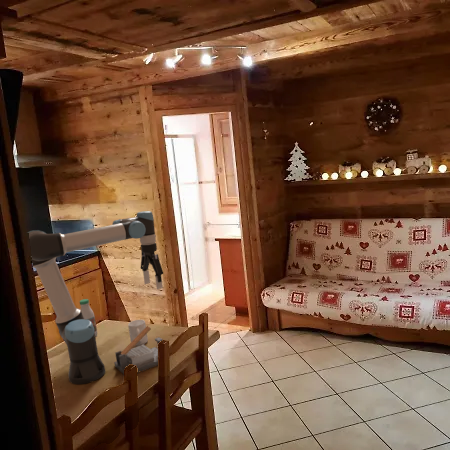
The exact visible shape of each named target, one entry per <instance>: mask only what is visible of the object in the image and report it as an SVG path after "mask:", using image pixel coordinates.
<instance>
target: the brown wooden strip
mask: <svg viewBox="0 0 450 450" xmlns="http://www.w3.org/2000/svg"><path fill="white" fill-rule="evenodd" d="M150 331H151V327H149V326H148V325H146V328H145V329H144V330H143V331H142V332H141V333H140V334H139V335H138V336H137V337H136V338H135V339H134V340H133V341H132V342H131V341H130V343H129V344H128V345H127V346H126V347H125V348H124V349H123V350H121V354H125V355H126V354H127V353H128V352H129V351H130V350H131V349H133V348H135V347H136V346H135V345H136V344H137V343H138V342H139V341H140V340H141V339H142V338H143V337H144V336H145V335H146V334H147V335H148V333H149V332H150ZM119 356H120V354H119V355H118V357H119Z"/></svg>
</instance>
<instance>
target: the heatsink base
mask: <svg viewBox="0 0 450 450" xmlns="http://www.w3.org/2000/svg"><path fill="white" fill-rule="evenodd" d="M162 340H163V341H164V339H163V338H161V337H156V338H154V341H155V342H157V345H158V343H159V342H160V341H162ZM121 352H122V350H119V351H117V352H114V353H115V358H116V361H114V362H113V363H114V367H115V368H116V369H117V371H119V372H120V373H122V375H124V369H125V367H126V366H128V365H129V364H133V365H136V366H137V368H138V372H139V371H142V372H144V371H147V370H150V369H152V368H154V367H157V366H159V365H158V347H155V346H154V347H152V348H149V347H148V346H147V345H145V344H143V345H139V346H135V347H133V348H132V349H131V350H130V351H129V352H128V353H127V354H126V355H125V354H121ZM119 354H120V356H119V357H118V355H119ZM149 368H150V369H149ZM146 369H147V370H146ZM143 370H144V371H143ZM139 373H140V372H139Z"/></svg>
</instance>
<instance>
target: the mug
mask: <svg viewBox="0 0 450 450" xmlns="http://www.w3.org/2000/svg"><path fill="white" fill-rule="evenodd" d="M127 325H128V326H127V327H128V332H129V333H128V334H129V340H130V343H131V342H132V341H133V340H134V339H135V338H136V337H137V336H138V335H139V334H140V333H141V332H142V331H143V330H144V329H145V328H146V327H147V324H146V321H145V320H144V319H134V320H132V321H129V323H128V324H127ZM148 341H149V339H148V333H147V334H146V335H145V336H144V337H143V338H142V339H141V340H140V341H139V342H138V343H137V344H136V345H135V346H134V347H139V346H142V345H145V344H147V343H148Z"/></svg>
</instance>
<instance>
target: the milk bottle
mask: <svg viewBox="0 0 450 450" xmlns="http://www.w3.org/2000/svg"><path fill="white" fill-rule="evenodd" d="M79 306H80V310H81V312H82V314H83V317H84V319H85V320H89V321H91V322H92V324H93V327H94V331H95V332H94V333H95V338H96V337H97V336H98V329H97V323H96V317H95V313H94V311H93V309H92V308H91V306H90V301H89V299H88V298H86V299H85V298H83V299H80V300H79Z"/></svg>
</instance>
